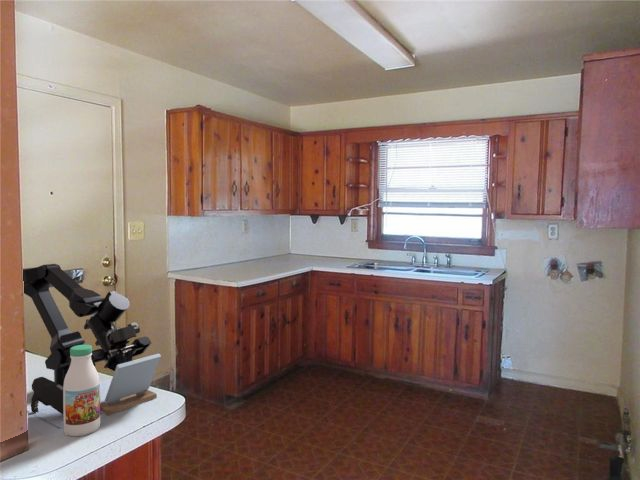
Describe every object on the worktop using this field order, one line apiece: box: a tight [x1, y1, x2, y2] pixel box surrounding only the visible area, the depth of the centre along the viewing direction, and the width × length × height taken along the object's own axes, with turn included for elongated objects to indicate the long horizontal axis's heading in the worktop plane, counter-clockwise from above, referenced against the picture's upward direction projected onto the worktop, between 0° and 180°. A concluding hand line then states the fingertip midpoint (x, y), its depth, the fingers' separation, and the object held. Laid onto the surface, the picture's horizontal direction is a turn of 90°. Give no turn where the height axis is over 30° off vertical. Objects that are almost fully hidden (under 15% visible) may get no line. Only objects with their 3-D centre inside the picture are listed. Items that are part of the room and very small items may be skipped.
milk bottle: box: [62, 344, 101, 437], centre depth 106 cm, size 8×8×20 cm
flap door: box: [104, 352, 162, 405], centre depth 120 cm, size 2×12×13 cm, turn 144°
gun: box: [30, 376, 63, 415], centre depth 114 cm, size 3×16×10 cm, turn 79°
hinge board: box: [100, 389, 157, 416], centre depth 122 cm, size 6×14×1 cm, turn 144°
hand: (132, 378), depth 120 cm, fingers closed, pressing on flap door
